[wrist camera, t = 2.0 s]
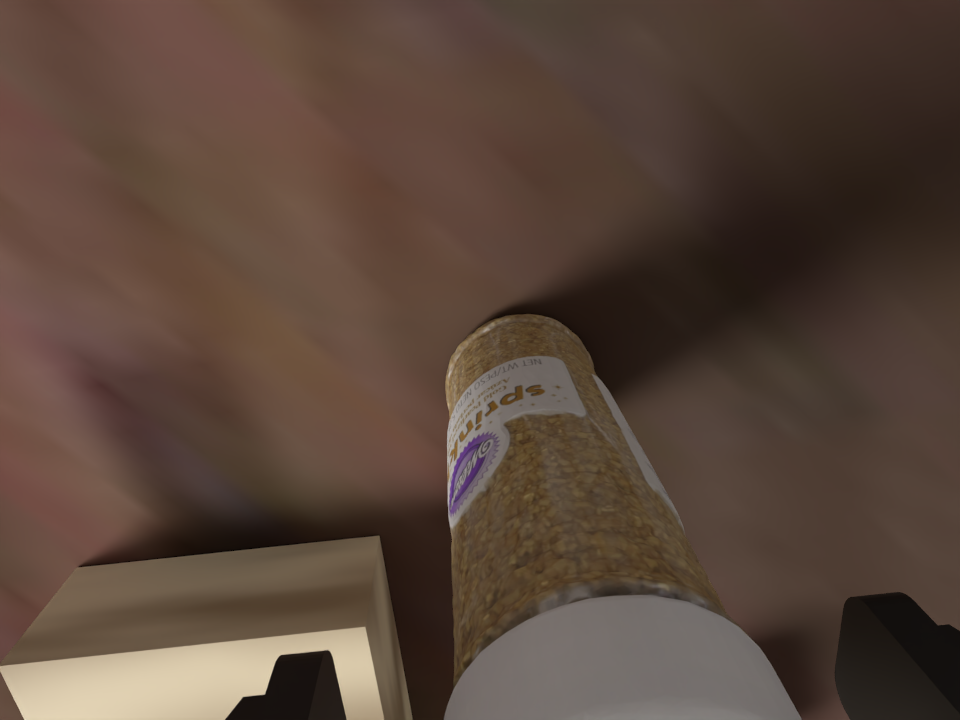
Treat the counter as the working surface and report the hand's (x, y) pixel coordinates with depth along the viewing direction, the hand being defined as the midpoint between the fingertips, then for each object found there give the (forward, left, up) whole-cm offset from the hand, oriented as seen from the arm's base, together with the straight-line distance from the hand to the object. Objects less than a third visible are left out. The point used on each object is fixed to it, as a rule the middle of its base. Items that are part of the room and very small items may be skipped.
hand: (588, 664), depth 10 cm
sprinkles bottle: (0, 0, -11) cm, 11 cm away
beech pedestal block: (+10, -10, -10) cm, 17 cm away
